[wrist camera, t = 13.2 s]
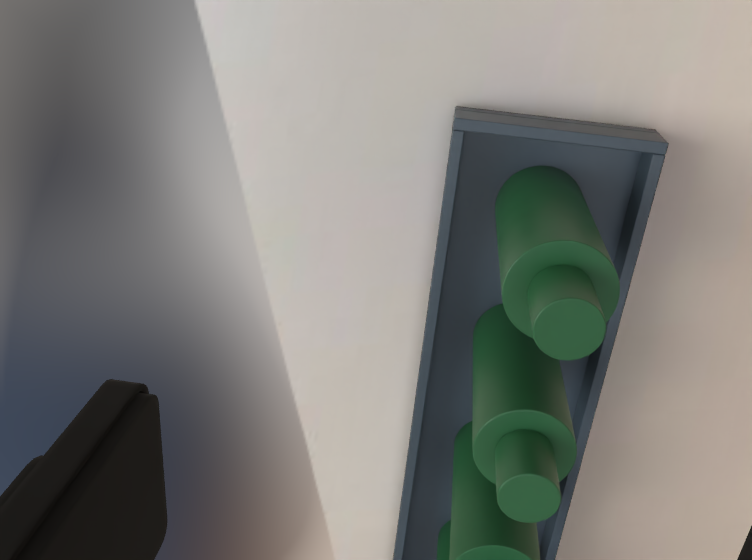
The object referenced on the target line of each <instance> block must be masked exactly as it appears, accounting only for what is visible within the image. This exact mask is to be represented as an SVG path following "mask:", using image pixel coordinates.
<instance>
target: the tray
mask: <svg viewBox="0 0 752 560" xmlns="http://www.w3.org/2000/svg"><path fill="white" fill-rule="evenodd" d="M667 148H668V142H667V141H666V140H665V139H664V138H663V137H662V136H661V135H660V134H659V133H658V132H657V131H656V130H655V129H646V128H637V127H629V126H620V125H612V124H603V123H595V122H586V121H578V120H569V119H560V118H552V117H543V116H535V115H526V114H518V113H509V112H501V111H492V110H483V109H475V108H466V107H458V106H456V107H455V114H454V121H453V129H452V136H451V143H450V150H449V158H448V165H447V172H446V179H445V187H444V194H443V201H442V208H441V216H440V223H439V230H438V237H437V245H436V252H435V259H434V266H433V274H432V281H431V288H430V295H429V303H428V310H427V317H426V324H425V332H424V339H423V346H422V354H421V361H420V368H419V375H418V383H417V390H416V397H415V404H414V412H413V419H412V426H411V433H410V441H409V448H408V455H407V462H406V470H405V477H404V484H403V491H402V499H401V506H400V513H399V520H398V528H397V535H396V542H395V549H394V557H393V560H437V545H438V535H439V532H440V529H441V528H442V527H443V525H444V524H445V523H447V522H448V521H449V520H451V507H452V482H453V458H454V441H455V438H456V435H457V433H458V432H459V430H460V429H461V428H462V427H463V426H464V425H466V424H467V423H469V422H470V421H472V418H473V331H474V327H475V325H476V323H477V321H478V319H479V318H480V317H481V316H482V315H483V314H484V313H485V312H486V311H487V310H489V309H490V308H492V307H494V306H496V305H499V304H503V302H502V293H501V281H500V268H499V255H498V242H497V230H496V217H495V203H496V198H497V195H498V193H499V191H500V189H501V187H502V186H503V184H504V183H505V182H506V181H507V180H508V179H509V178H510V177H511V176H512V175H514V174H515V173H517V172H518V171H520V170H523V169H525V168H528V167H533V166H551V167H555V168H558V169H560V170H562V171H564V172H566V173H567V174H569V175H570V176H571V177H572V178H573V179H574V180H575V181H576V183H577V184H578V186H579V187H580V190H581V192H582V194H583V197H584V199H585V201H586V203H587V206H588V208H589V210H590V213H591V215H592V217H593V219H594V222H595V224H596V226H597V228H598V231H599V233H600V235H601V238H602V240H603V242H604V244H605V247H606V249H607V251H608V254H609V256H610V258H611V260H612V263H613V265H614V267H615V269H616V272H617V274H618V278H619V282H620V296H619V301H618V304H617V307H616V309H615V311H614V313H613V315H612V316H611V318H610V319H609V320H608V322H607V323H606V334H605V337H604V340H603V342H602V343H601V345H600V346H599V347H598V348H597V349H596V350H595V351H594V352H593V353H591V354H590V355H588V356H586V357H584V358H581V359H577V360H570V361H566V360H559V362H560V367H561V372H562V376H563V381H564V386H565V391H566V396H567V401H568V406H569V411H570V415H571V420H572V425H573V430H574V435H575V440H576V445H577V456H576V460H575V463H574V466H573V467H572V469H571V471H570V472H569V473H568V475H567V476H566V477H565V478H564V479H563V480H561V481H560V482H559V485H560V492H561V503H560V506H559V508H558V510H557V511H556V513H555V514H553V515H552V516H551V517H550V518H548V519H546V520H543V521H540V522H536V523H537V532H538V542H539V551H540V560H555V557H556V554H557V550H558V546H559V543H560V539H561V535H562V532H563V528H564V524H565V521H566V517H567V513H568V510H569V506H570V502H571V499H572V495H573V491H574V488H575V484H576V480H577V477H578V473H579V469H580V466H581V462H582V459H583V455H584V451H585V448H586V444H587V440H588V437H589V433H590V429H591V426H592V422H593V418H594V415H595V411H596V407H597V404H598V400H599V396H600V393H601V389H602V385H603V382H604V378H605V374H606V371H607V367H608V363H609V360H610V356H611V352H612V349H613V345H614V341H615V338H616V334H617V330H618V327H619V323H620V319H621V316H622V312H623V309H624V305H625V301H626V298H627V294H628V290H629V287H630V283H631V279H632V276H633V272H634V268H635V265H636V261H637V257H638V254H639V250H640V246H641V243H642V239H643V235H644V232H645V228H646V224H647V221H648V217H649V213H650V210H651V206H652V202H653V199H654V195H655V191H656V188H657V184H658V180H659V177H660V173H661V169H662V166H663V162H664V159H665V154H666V151H667Z"/></svg>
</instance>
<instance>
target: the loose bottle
mask: <svg viewBox="0 0 752 560" xmlns="http://www.w3.org/2000/svg"><path fill="white" fill-rule="evenodd" d="M495 217H496V230H497V242H498V255H499V268H500V281H501V293H502V302H503V306H504V309H505V312H506V314H507V316H508V318H509V319H510V321H511V322H512V323H513V324H514V325H515V327H516V328H517V329H519V330H520V331H521V332H522V333H524V334H526V335H527V336H529V337H531V338H533V339H534V341H535V343H536V344H537V346H538V347H539V348H540V350H541V351H543V352H544V353H545V354H547V355H548V356H550V357H552V358H555V359H559V360H566V361H570V360H577V359H581V358H584V357H586V356H588V355H590V354H591V353H593V352H594V351H595V350H596V349H597V348H598V347H599V346H600V345H601V343H602V342H603V340H604V337H605V334H606V323H607V322H608V320H609V319H610V318H611V316H612V315H613V313H614V311H615V309H616V307H617V304H618V301H619V296H620V282H619V278H618V274H617V272H616V269H615V267H614V265H613V263H612V260H611V258H610V256H609V254H608V251H607V249H606V247H605V244H604V242H603V240H602V238H601V235H600V233H599V231H598V228H597V226H596V224H595V222H594V219H593V217H592V215H591V213H590V210H589V208H588V206H587V203H586V201H585V199H584V197H583V194H582V192H581V190H580V187H579V186H578V184H577V183H576V181H575V180H574V179H573V178H572V177H571V176H570V175H569V174H567V173H566V172H564V171H562V170H560V169H558V168H555V167H551V166H533V167H528V168H525V169H523V170H520V171H518V172H517V173H515V174H514V175H512V176H511V177H510V178H509V179H508V180H507V181H506V182H505V183H504V184H503V186H502V187H501V189H500V191H499V193H498V195H497V198H496V203H495Z"/></svg>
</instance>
